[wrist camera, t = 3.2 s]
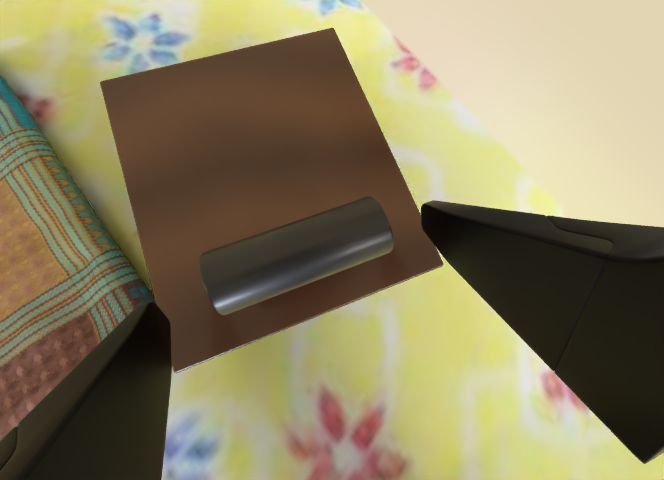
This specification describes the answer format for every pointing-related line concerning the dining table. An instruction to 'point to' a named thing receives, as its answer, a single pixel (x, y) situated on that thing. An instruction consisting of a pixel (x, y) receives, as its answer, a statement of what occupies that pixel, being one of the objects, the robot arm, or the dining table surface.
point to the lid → (261, 191)
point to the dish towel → (50, 268)
